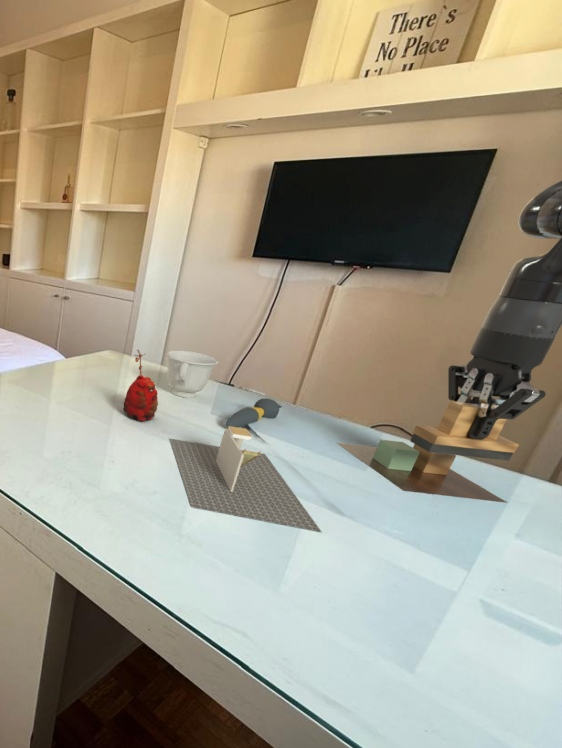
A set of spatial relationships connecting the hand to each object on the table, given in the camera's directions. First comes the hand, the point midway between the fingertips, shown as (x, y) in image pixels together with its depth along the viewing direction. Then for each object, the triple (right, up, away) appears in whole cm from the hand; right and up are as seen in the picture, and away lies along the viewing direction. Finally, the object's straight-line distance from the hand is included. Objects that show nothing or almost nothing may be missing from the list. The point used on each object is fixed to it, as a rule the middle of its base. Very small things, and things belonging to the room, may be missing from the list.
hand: (466, 433), depth 74 cm
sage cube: (-3, -7, +10) cm, 13 cm away
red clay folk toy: (-44, +1, +27) cm, 52 cm away
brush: (0, -3, +1) cm, 3 cm away
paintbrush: (-18, 0, +28) cm, 33 cm away
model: (-36, -8, +4) cm, 37 cm away
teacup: (-27, +6, +43) cm, 51 cm away
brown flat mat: (0, -8, +9) cm, 13 cm away
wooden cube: (+3, -7, +10) cm, 13 cm away
